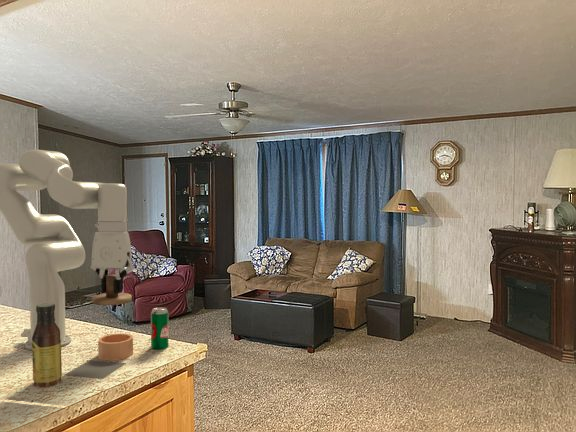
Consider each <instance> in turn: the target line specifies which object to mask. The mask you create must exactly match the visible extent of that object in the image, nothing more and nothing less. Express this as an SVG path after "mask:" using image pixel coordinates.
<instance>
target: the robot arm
mask: <svg viewBox="0 0 576 432" xmlns="http://www.w3.org/2000/svg"><path fill="white" fill-rule="evenodd" d="M73 177H74V173H73V169H72V167H71V163H70V160H69V158H68V157H67V155H65V154H64V153H62V152H61V151H53V150H46V149H45V150H44V149H29V150H26V151H24V152H23V153H21V155H20V156H19V158H18V163H0V212H1V213H2V215H3V216H4V218H5V219H6V222H7V223H8V224H9V226H10V228H11V230H12V232H13V233H14V235H15V237H16V238H17V239H18V242H20V243H21V244H22V245H25V246H30V247H28V249H27V250H26V252H25V258H24V260H25V265H26V270H27V275H28V282H29V283H28V284H29V311H30V312H29V314H30V315H29V316H30V328H24V329H23V332H21V333H20V337H21V338H27V341H26V342H25V343H24V348H25V349H26V350H30V351H32V336H33V333H34V331H35V328H36V325H37V311H36V306H37V305H38V304H41V303H54V304H55V310H54V318H55V321H54V322H55V323H56V325H57V326H58V327H59V329H60V340H61V348H62V347H65V346H68V345H69V344H71V342H72V338H71V336H69V335H67V334H66V287H65V283H64V281H63V279H62V277H61V276H60V275H59V272H64V271H69V270H73V269H77V268H79V267H81V266H82V265H83V264H84V263H85V261H86V250H85V248H84V245H83V244H82V242H81V240H80V238H79V237H78V235H77V234H76V232H75V231H74V229H73V227H72V226H71V224H70V223H69V221H68V220H67V219H66V218H65V217H63V216H61V215H60V214H53V213H51V214H46V213H45V214H42V213H39V212H38V211H37V209H36V208H35V207H34V205H33V203H32V202H31V201H30V200H29V199H28V198H27V197H25V196H24V195H22V194H21V193H20V192H18V191H22V192H23V191H25V192H26V191H27V192H28V191H29V192H30V191H31V192H33V191H34V192H35V191H41V190H44V189H46V190H47V192H48V195H49V197H50V198H51V199H52V200H54V201H55V202H57V203H58V204H60V205H62V206H64V207H65V208H69V209H74V210H83V209H85V210H86V209H88V210H89V209H92V210H94V209H95V210H96V209H97V222H95V223H94V227H95V228H97V231H95V232H94V236H93V241H92V247H91V248H92V249H91V264H90V269H92V270H93V271H95V272H96V274H97V275H98V277H99V279H100V283H101V284H100V285H101V294H104V293H106V275H110V270H114V273H115V274H114V275H116V280H114V294H118V293H123V290H124V279H126V276H127V275H128V274H129V273H132V272H133V271H135V266H134V264H133V262H132V246H131V238H130V235H129V232H128V231H127V229H128V228H127V227H128V226H127V225H128V224H127V219H128V218H127V217H128V216H127V214H128V212H127V211H128V210H127V209H128V208H127V204H128V201H127V199H128V196H127V195H128V192H127V190H128V189H127V186H126V184H123V183H116V182H115V183H114V182H113V183H110V182H109V183H107V182H98V181H97V182H94V181H74V180H73Z"/></svg>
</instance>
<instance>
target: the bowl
mask: <svg viewBox="0 0 576 432" xmlns="http://www.w3.org/2000/svg"><path fill="white" fill-rule="evenodd" d="M97 345H98V349H97V350H98V354H97V355H98V358H99V359H100V360H101V361H120V360H124V359H127V358H130V357H132V356H133V354H134V335H132V334H129V333H111V334H107V335H103V336H101V337H99V338H98V342H97Z"/></svg>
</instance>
